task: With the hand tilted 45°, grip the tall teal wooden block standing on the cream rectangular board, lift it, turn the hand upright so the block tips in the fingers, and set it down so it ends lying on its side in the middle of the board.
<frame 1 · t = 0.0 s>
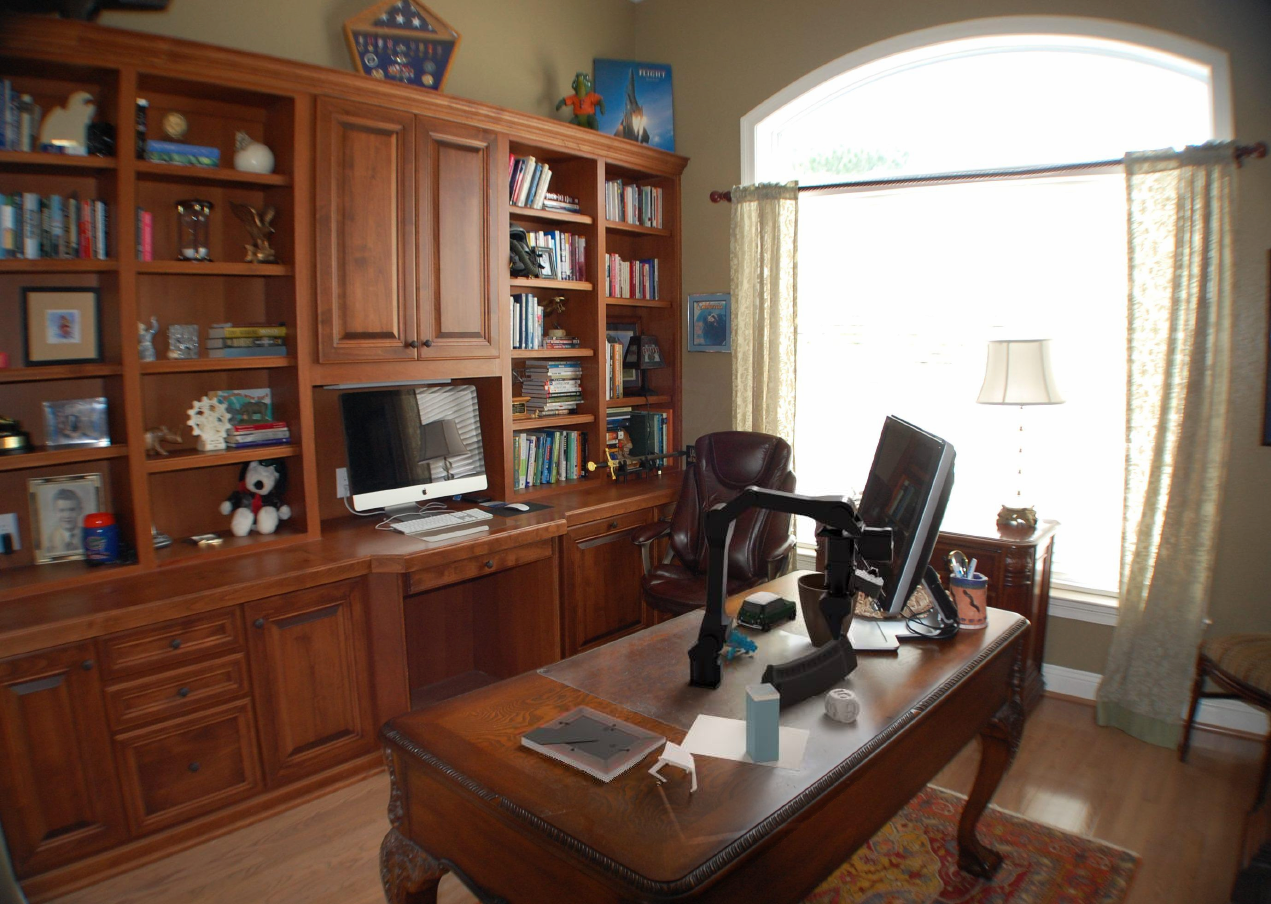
hand: (838, 631, 166), 15 cm above the table, tool pointing down, fingers open, 9 cm apart
gear: (735, 655, 193), on the table
cream rectangular board: (745, 743, 151), on the table
die: (841, 718, 161), on the table
magazine: (809, 697, 170), on the table
miniature car: (766, 623, 214), on the table
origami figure: (678, 785, 138), on the table
teal block: (762, 755, 145), point 1 cm above the table, touching cream rectangular board
plant pot: (827, 645, 198), on the table
picture frame: (593, 749, 152), on the table
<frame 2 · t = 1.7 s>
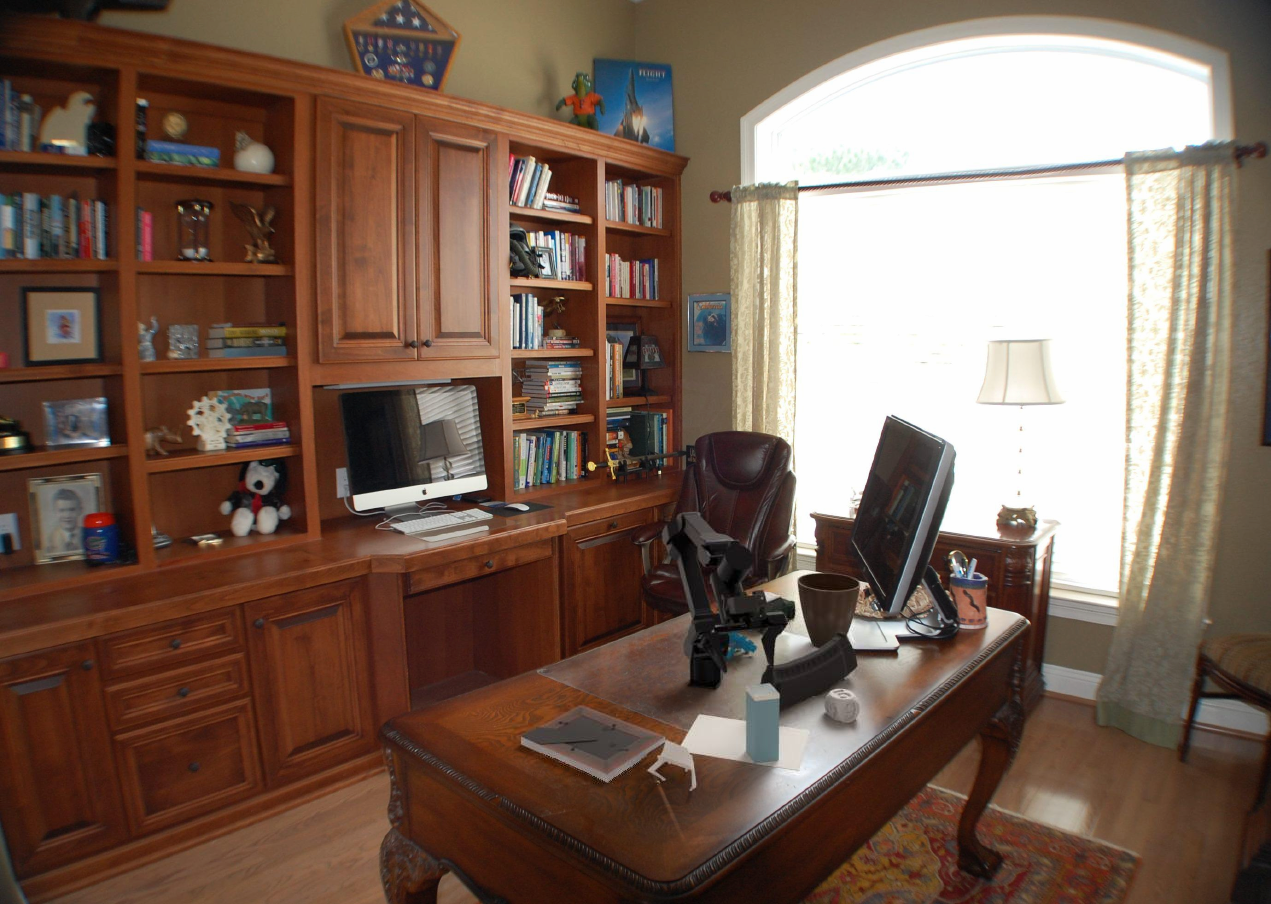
hand: (749, 669, 151), 13 cm above the table, tool tilted 45°, fingers open, 9 cm apart
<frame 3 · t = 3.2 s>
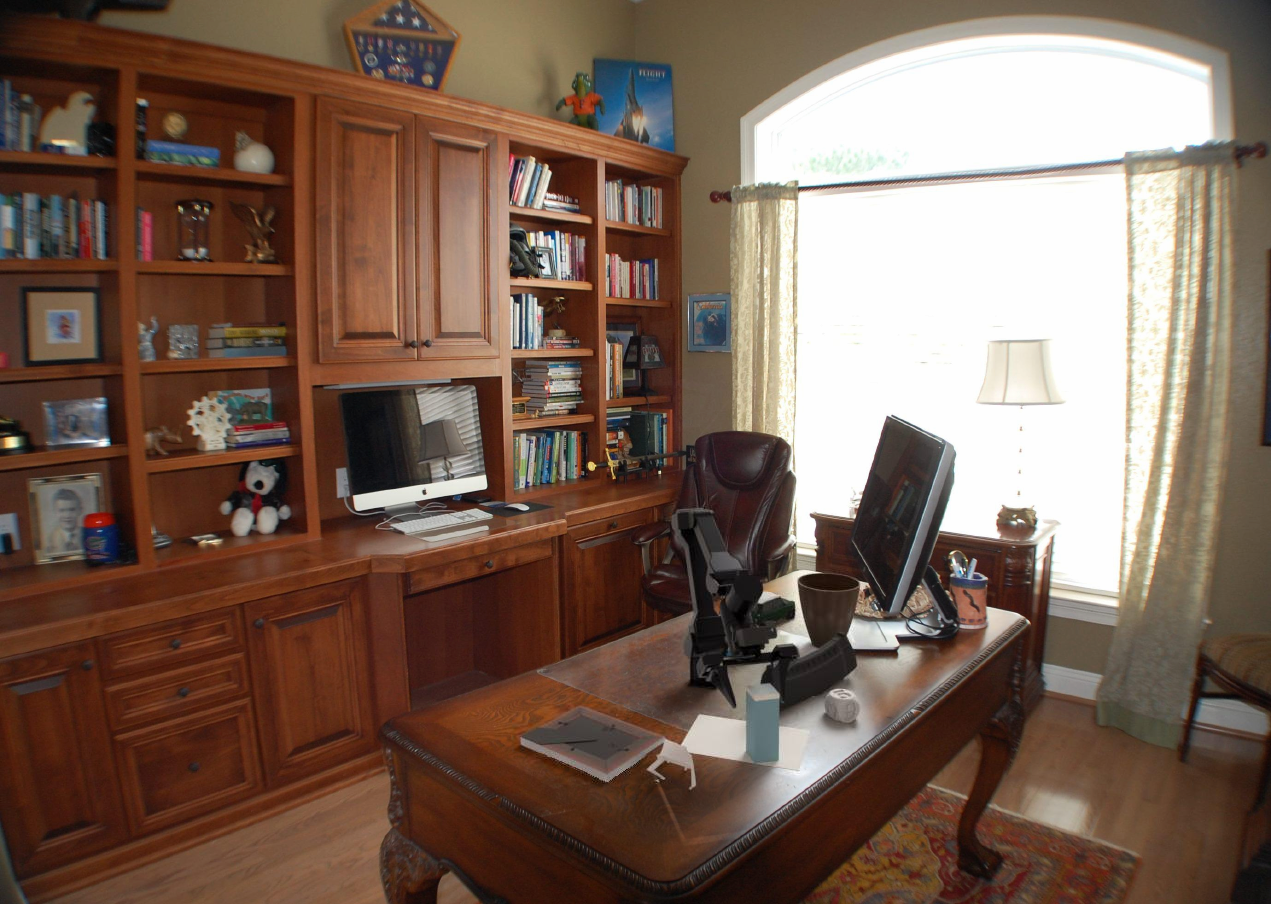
hand: (759, 704, 146), 9 cm above the table, tool tilted 45°, fingers open, 9 cm apart
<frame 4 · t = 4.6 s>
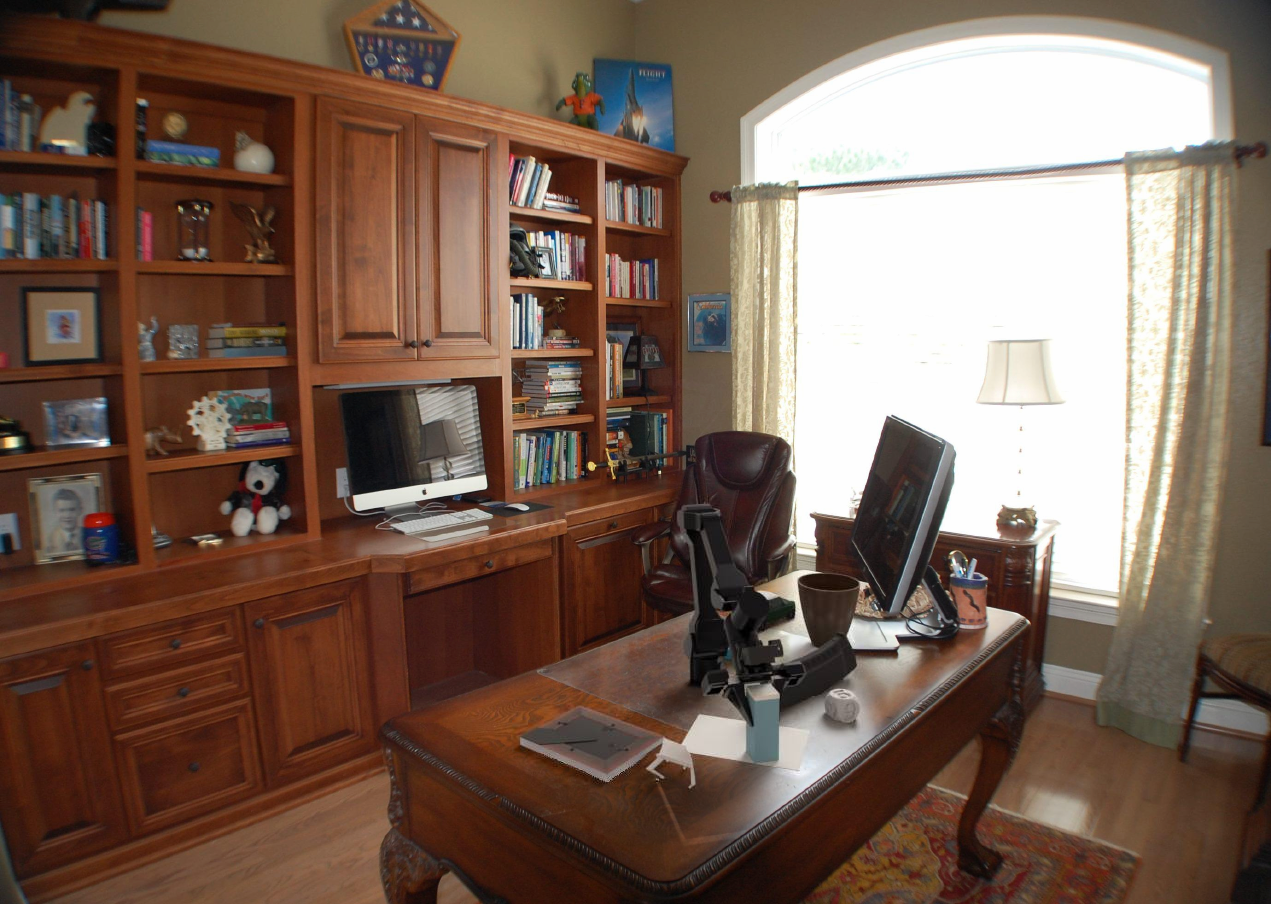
hand: (765, 724, 143), 7 cm above the table, tool tilted 45°, fingers closed on teal block, 4 cm apart
teal block: (762, 755, 145), point 1 cm above the table, touching cream rectangular board, gripper
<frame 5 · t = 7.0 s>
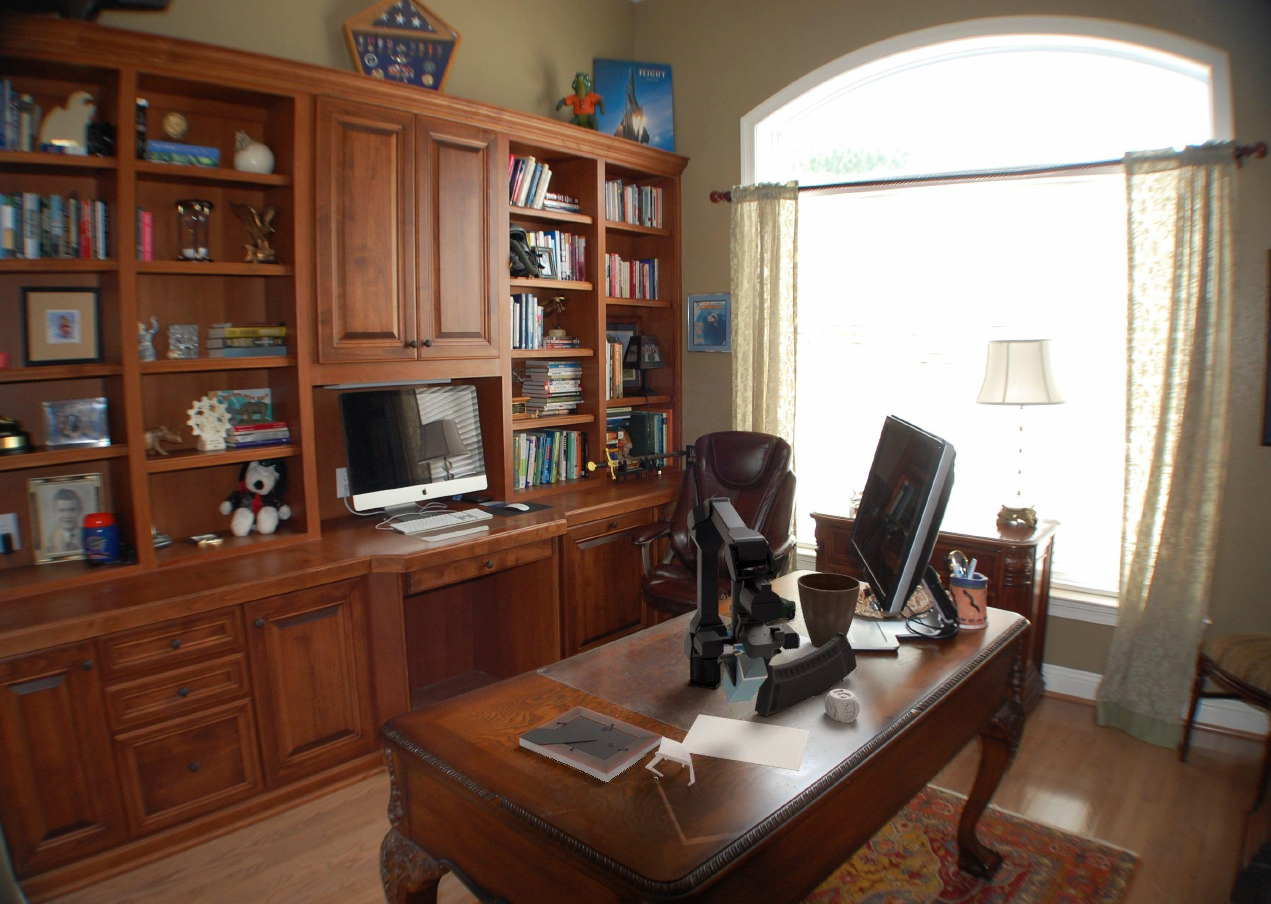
hand: (746, 684, 149), 12 cm above the table, tool pointing down, fingers closed on teal block, 4 cm apart
teal block: (736, 690, 155), point 8 cm above the table, tilted 46°, touching gripper
when the fingers open (7 cm above the table, at t = 8.0 s): teal block moves 2 cm and tips over, resting on cream rectangular board.
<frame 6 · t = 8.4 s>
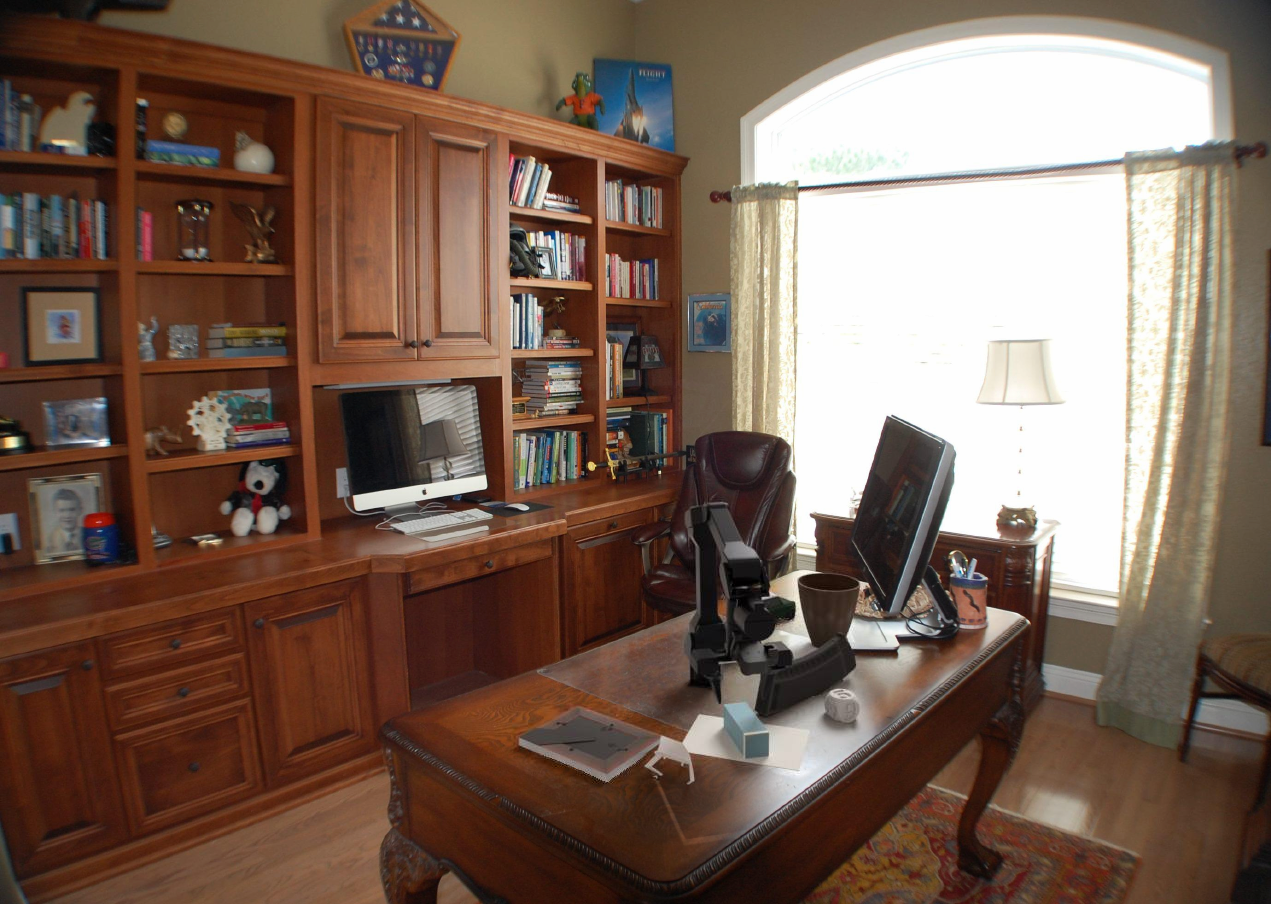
hand: (741, 700, 152), 7 cm above the table, tool pointing down, fingers open, 8 cm apart
teal block: (734, 714, 156), point 3 cm above the table, tilted 90°, touching cream rectangular board
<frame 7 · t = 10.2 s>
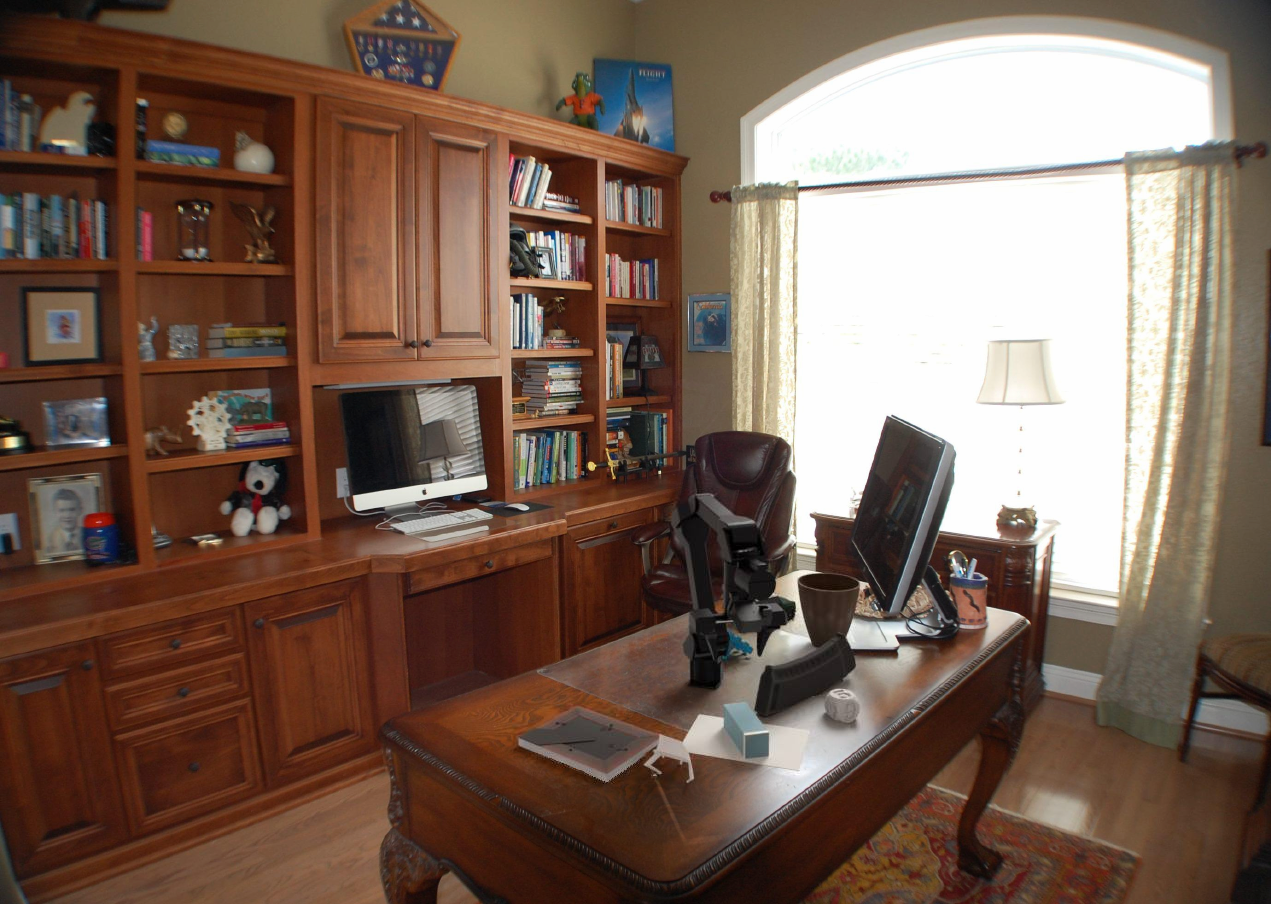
hand: (737, 658, 161), 12 cm above the table, tool pointing down, fingers open, 9 cm apart
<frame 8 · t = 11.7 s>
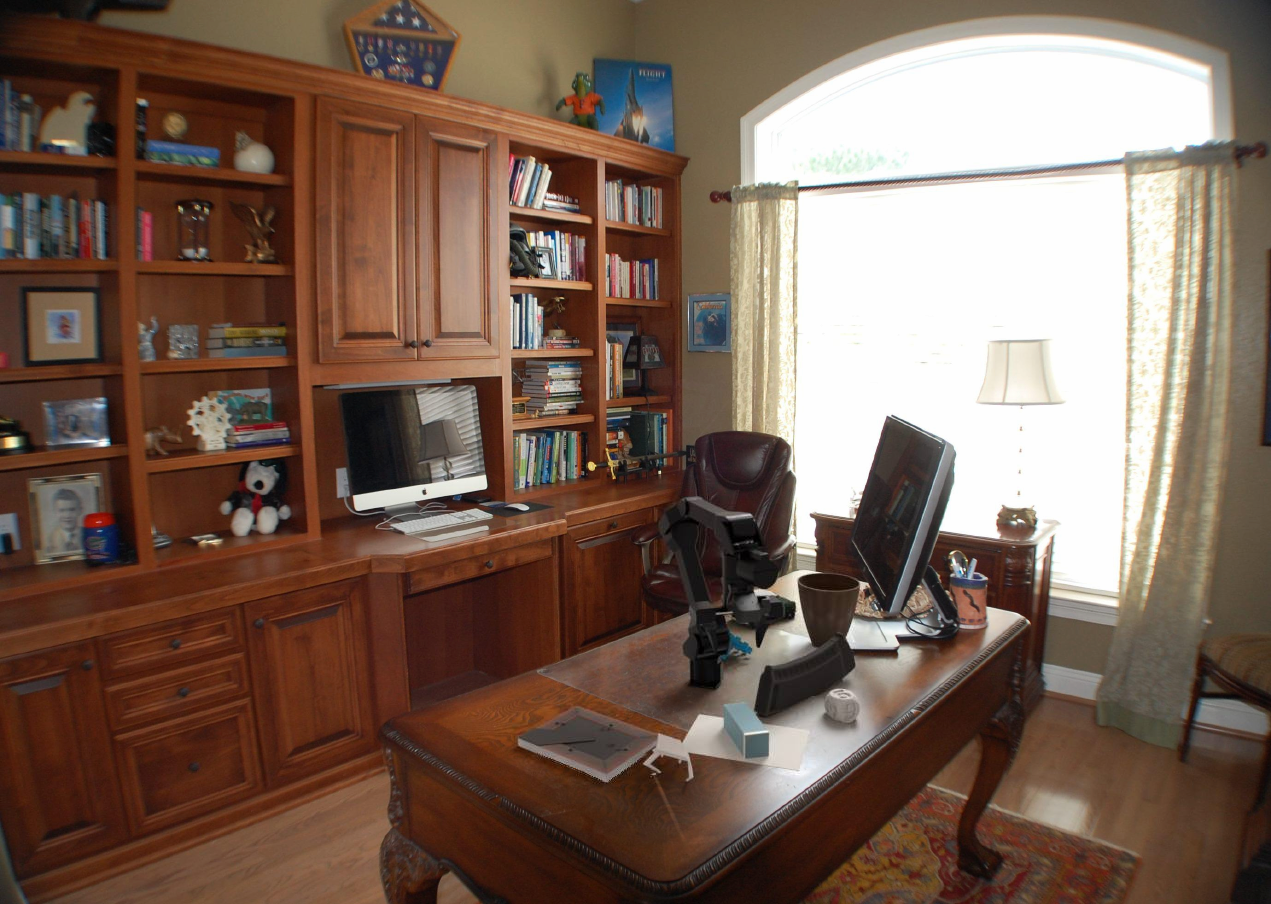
hand: (736, 649, 165), 12 cm above the table, tool pointing down, fingers open, 9 cm apart
at the end: teal block tilted 90°; teal block inside the target area (5.3 cm from its centre), point 2.8 cm above the table; the gripper is holding nothing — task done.
